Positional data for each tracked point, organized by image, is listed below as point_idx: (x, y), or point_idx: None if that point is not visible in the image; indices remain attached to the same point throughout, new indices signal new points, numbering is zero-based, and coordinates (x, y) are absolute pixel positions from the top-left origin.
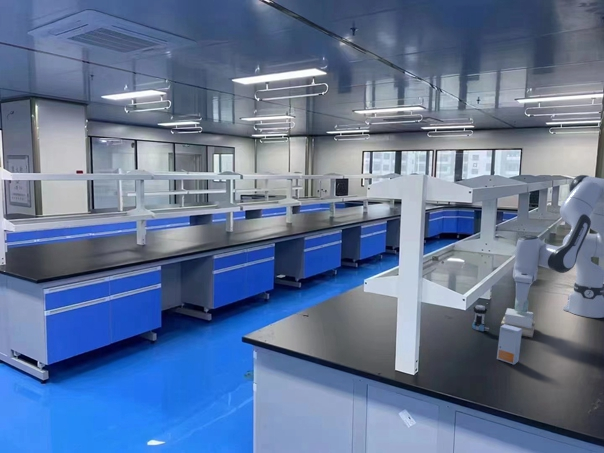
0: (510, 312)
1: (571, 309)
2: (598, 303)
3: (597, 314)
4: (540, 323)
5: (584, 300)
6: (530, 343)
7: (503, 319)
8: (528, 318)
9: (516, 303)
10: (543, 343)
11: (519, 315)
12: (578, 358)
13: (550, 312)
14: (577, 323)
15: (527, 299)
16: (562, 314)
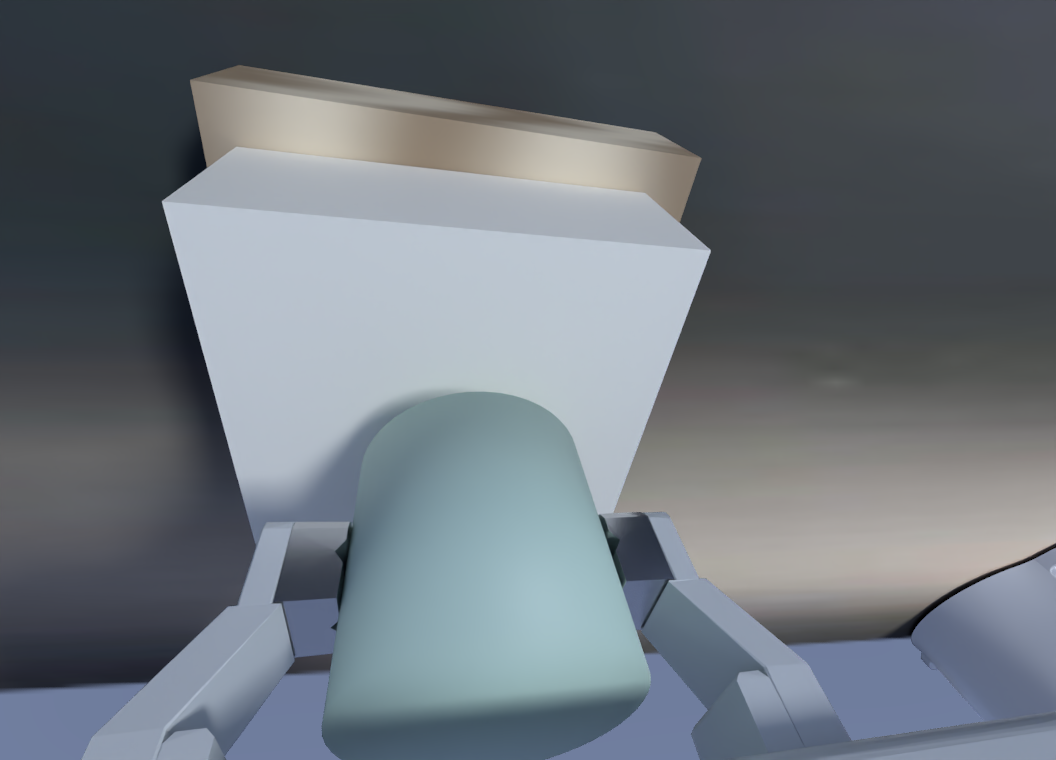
0: (393, 306)
1: (1030, 585)
2: (990, 719)
3: (928, 655)
4: (761, 451)
5: (1038, 700)
6: (52, 401)
7: (481, 139)
8: (254, 526)
9: (394, 543)
10: (181, 483)
11: (297, 437)
12: (35, 635)
13: (1035, 491)
14: (808, 593)
15: (528, 756)
16: (984, 538)
